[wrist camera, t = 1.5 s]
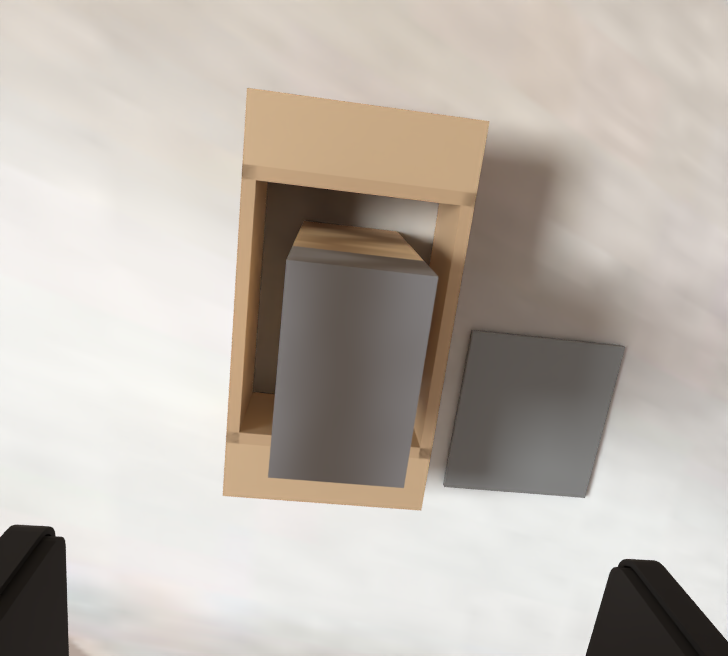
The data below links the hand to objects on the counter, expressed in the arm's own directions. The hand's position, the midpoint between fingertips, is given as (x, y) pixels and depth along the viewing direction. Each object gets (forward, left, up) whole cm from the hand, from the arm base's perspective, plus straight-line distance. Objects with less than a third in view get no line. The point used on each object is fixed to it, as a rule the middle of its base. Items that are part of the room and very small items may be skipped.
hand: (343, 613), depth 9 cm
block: (0, 0, -22) cm, 22 cm away
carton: (0, 0, -22) cm, 22 cm away
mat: (-12, +6, -22) cm, 26 cm away
